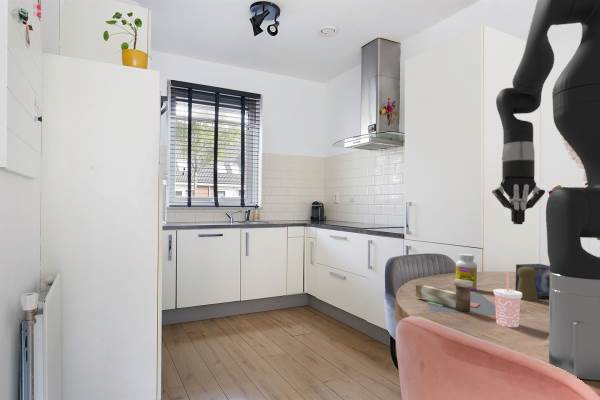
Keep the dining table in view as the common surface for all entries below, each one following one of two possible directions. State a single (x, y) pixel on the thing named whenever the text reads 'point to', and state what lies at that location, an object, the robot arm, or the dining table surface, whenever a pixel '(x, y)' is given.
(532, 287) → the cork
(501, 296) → the beverage cup
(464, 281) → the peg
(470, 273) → the supplement bottle
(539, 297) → the small box
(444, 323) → the dining table surface
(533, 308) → the dining table surface
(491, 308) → the grey flat slab
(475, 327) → the dining table surface
